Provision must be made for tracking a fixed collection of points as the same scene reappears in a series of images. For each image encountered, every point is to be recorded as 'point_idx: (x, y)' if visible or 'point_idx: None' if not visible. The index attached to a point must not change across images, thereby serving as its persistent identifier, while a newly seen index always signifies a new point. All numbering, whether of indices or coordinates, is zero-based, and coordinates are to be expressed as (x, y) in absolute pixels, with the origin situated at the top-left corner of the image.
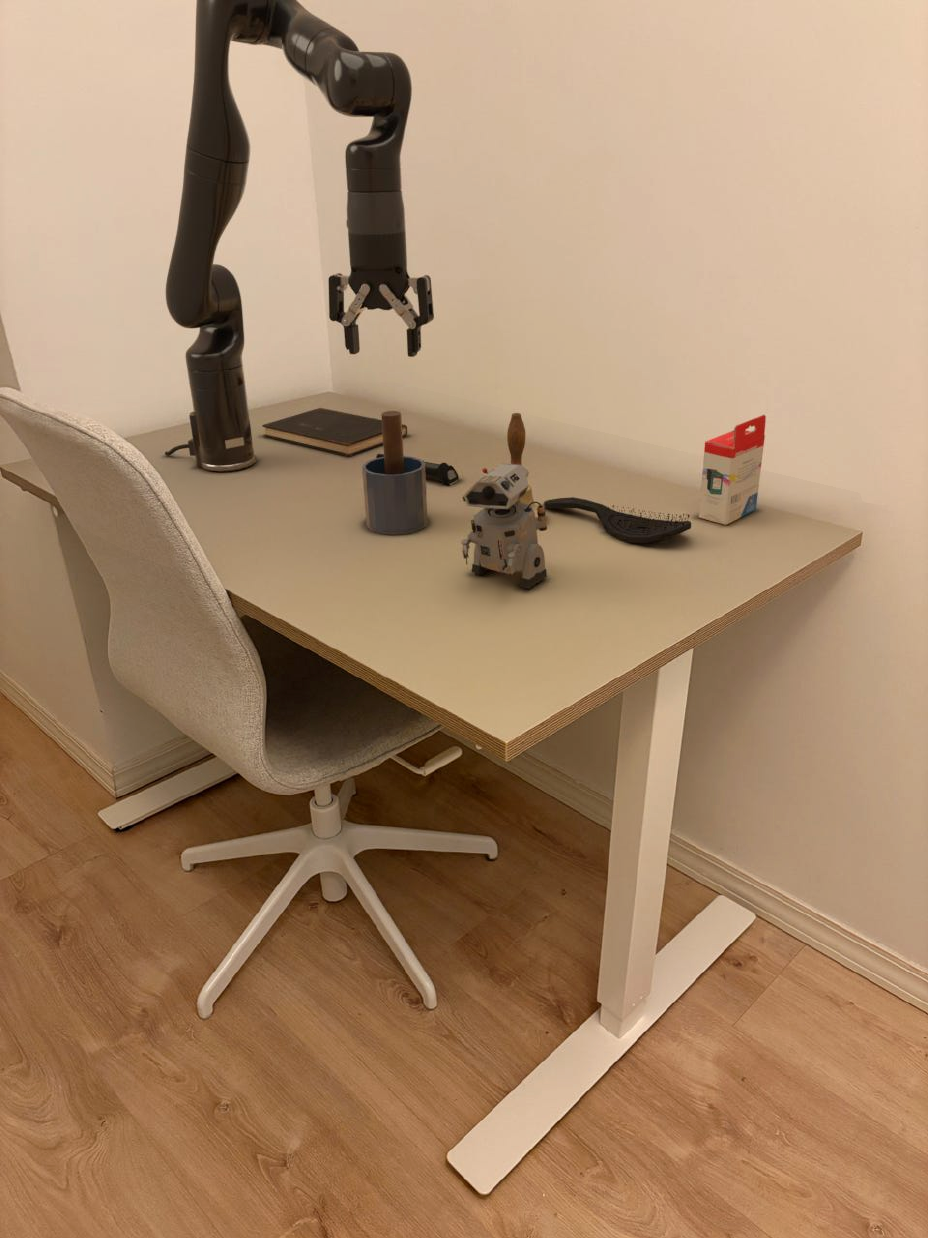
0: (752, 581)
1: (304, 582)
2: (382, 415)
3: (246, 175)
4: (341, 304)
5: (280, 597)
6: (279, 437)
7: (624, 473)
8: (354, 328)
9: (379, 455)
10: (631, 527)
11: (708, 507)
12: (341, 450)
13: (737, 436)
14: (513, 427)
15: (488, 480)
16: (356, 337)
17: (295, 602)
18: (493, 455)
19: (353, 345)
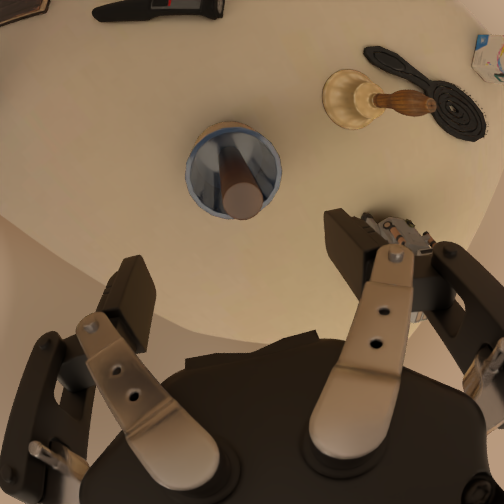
0: (495, 175)
1: (230, 304)
2: (232, 217)
3: None
4: (53, 384)
5: (230, 327)
6: None
7: None
8: (139, 332)
9: (96, 13)
10: (447, 108)
11: (484, 73)
12: (33, 12)
13: None
14: (419, 115)
15: (421, 318)
16: (137, 297)
17: (246, 327)
18: None
19: (153, 308)
